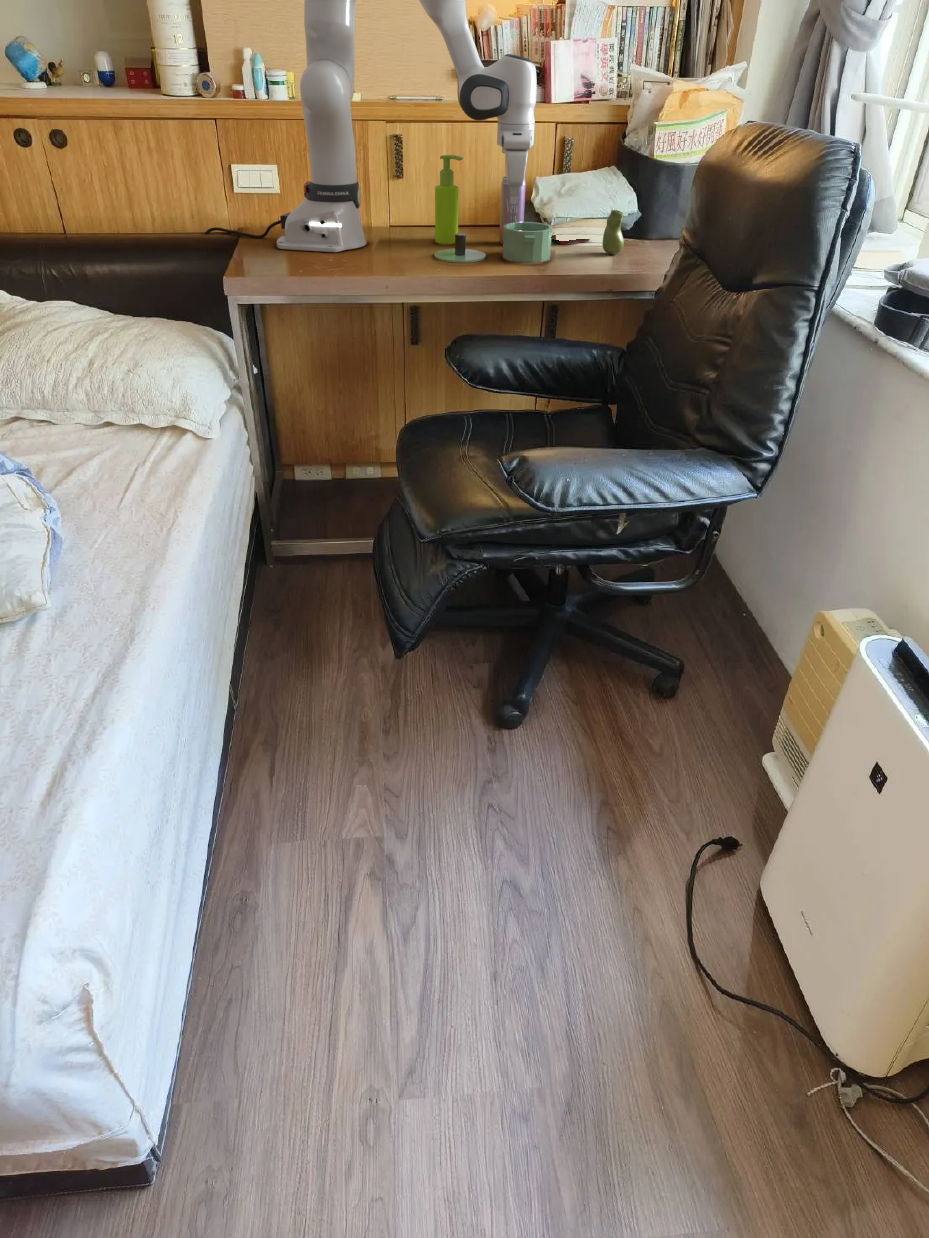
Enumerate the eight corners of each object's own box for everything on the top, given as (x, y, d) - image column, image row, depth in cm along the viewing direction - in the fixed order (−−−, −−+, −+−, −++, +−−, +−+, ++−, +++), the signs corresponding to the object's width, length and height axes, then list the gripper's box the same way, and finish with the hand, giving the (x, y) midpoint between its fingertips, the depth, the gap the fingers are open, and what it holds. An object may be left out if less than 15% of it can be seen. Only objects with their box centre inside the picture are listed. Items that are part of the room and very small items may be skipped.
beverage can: (522, 241, 213) (526, 176, 204) (521, 246, 208) (525, 180, 199) (499, 240, 213) (502, 175, 204) (498, 245, 208) (501, 179, 200)
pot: (503, 267, 193) (505, 233, 189) (501, 251, 206) (502, 219, 202) (552, 268, 193) (554, 234, 189) (546, 252, 207) (548, 220, 202)
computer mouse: (593, 241, 217) (595, 225, 215) (560, 246, 212) (562, 229, 210) (578, 237, 221) (580, 221, 219) (546, 241, 217) (547, 224, 214)
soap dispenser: (457, 247, 209) (458, 157, 198) (431, 244, 211) (431, 156, 199) (464, 242, 214) (466, 154, 202) (439, 240, 216) (439, 153, 204)
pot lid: (433, 265, 194) (433, 239, 190) (435, 253, 204) (434, 228, 200) (486, 266, 194) (487, 240, 191) (485, 253, 204) (485, 229, 201)
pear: (602, 251, 208) (607, 207, 202) (623, 252, 207) (629, 208, 201) (600, 255, 204) (604, 211, 198) (621, 257, 203) (626, 212, 197)
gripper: (500, 132, 205) (498, 193, 213) (504, 141, 189) (501, 208, 197) (525, 132, 205) (522, 194, 213) (531, 142, 189) (527, 208, 197)
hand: (512, 201), depth 205 cm, fingers closed on beverage can, 6 cm apart
